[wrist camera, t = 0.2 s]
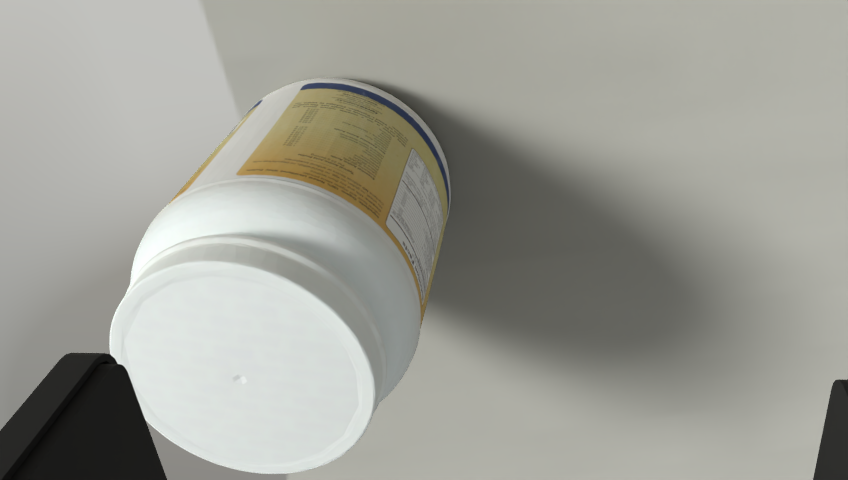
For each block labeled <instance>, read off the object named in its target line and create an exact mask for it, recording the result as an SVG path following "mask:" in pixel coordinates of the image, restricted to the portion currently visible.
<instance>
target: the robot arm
mask: <svg viewBox="0 0 848 480" xmlns="http://www.w3.org/2000/svg"><path fill="white" fill-rule="evenodd" d="M0 480H167V478H166V476H165V473H164V470H163V467H162V465H161V462H160V459H159V457H158V454H157V451H156V448H155V445H154V443H153V440H152V437H151V435H150V432H149V429H148V426H147V424H146V421H145V418H144V415H143V413H142V410H141V407H140V404H139V402H138V399H137V396H136V393H135V391H134V388H133V385H132V383H131V380H130V377H129V374H128V372H127V370H126V368H125V367H124V366H123V365H121V364H118V363H117V362H116V360H115V358H114V357H113V356H111V355H110V354H105V353H70V354H66V355H65V356H64V357H63V358H61V359H60V360H59V362H58V363H57V364H56V365H55V366H54V368H53V369H52V370H51V371H50V372H49V373H48V375H47V376H46V377H45V378H44V379H43V381H42V382H41V383H40V384H39V386H38V387H37V388H36V389H35V390H34V391H33V393H32V394H31V395H30V396H29V397H28V398H27V400H26V401H25V402H24V403H23V404H22V406H21V407H20V408H19V409H18V410H17V412H16V413H15V414H14V415H13V417H12V418H11V419H10V420H9V421H8V422H7V423H6V425H5V426H4V427H3V428H2V429H1V431H0ZM813 480H848V380H835V382H834V383H833V386H832V389H831V394H830V399H829V404H828V409H827V414H826V419H825V424H824V429H823V434H822V439H821V444H820V449H819V454H818V458H817V463H816V468H815V473H814V478H813Z"/></svg>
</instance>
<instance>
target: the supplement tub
mask: <svg viewBox="0 0 848 480" xmlns="http://www.w3.org/2000/svg"><path fill="white" fill-rule="evenodd" d="M450 203H451V189H450V178H449V171H448V166H447V162H446V159H445V156H444V153H443V151H442V149H441V147H440V145H439V143H438V141H437V139H436V137H435V136H434V134H433V133H432V131H431V130H430V129H429V127H428V126H427V125H426V124H425V122H424V121H423V120H422V119H421V118H420V117H419V116H418V115H417V114H416V113H415V112H414V111H413V110H412V109H410V108H409V107H408V106H407V105H405V104H404V103H403V102H401V101H400V100H398V99H397V98H395V97H394V96H392V95H390V94H388V93H386V92H384V91H382V90H380V89H378V88H376V87H373V86H371V85H368V84H365V83H361V82H358V81H353V80H348V79H342V78H315V79H309V80H303V81H299V82H295V83H292V84H289V85H287V86H284V87H282V88H280V89H278V90H276V91H274V92H272V93H270V94H268V95H267V96H265V97H264V98H262V99H261V100H260V101H258V102H257V103H256V104H255V105H254V106H253V107H252V108H251V109H250V110H249V111H248V112H247V113H246V114H245V115H244V117H243V118H242V119H241V121H240V122H239V123H238V124H237V125H236V127H235V128H234V129H233V130H232V131H231V132H230V134H229V135H228V136H227V137H226V138H225V139H224V140H223V141H222V143H221V144H220V145H219V146H218V147H217V149H216V150H215V151H214V152H213V153H212V154H211V156H209V158H208V159H207V160H206V161H205V162H204V163H203V164H202V166H201V167H200V168H199V169H198V170H197V172H195V174H194V175H193V176H192V177H191V178H190V180H189V181H188V182H187V183H186V184H185V185H184V186H183V188H182V189H181V190H180V191H179V192H178V193H177V195H176V196H175V197H174V198H173V199H172V201H171V202H170V203H169V204H168V205H167V206H166V207H165V208H164V209H163V210H162V211H161V212H160V213H159V214H158V215H157V216H156V218H155V219H154V220H153V221H152V223H151V224H150V226H149V228H148V229H147V231H146V233H145V235H144V237H143V239H142V241H141V244H140V245H139V247H138V250H137V252H136V255H135V259H134V263H133V267H132V272H131V283H130V286H129V288H128V290H127V293H126V295H125V297H124V298H123V300H122V301H121V303H120V305H119V306H118V308H117V310H116V313H115V315H114V317H113V321H112V324H111V329H110V355H111V356H113V357H114V358H115V360H116V362H117V363H118V364H121V365H123V366H124V367H125V368H126V370H127V372H128V374H129V377H130V380H131V383H132V385H133V388H134V391H135V393H136V396H137V399H138V402H139V404H140V407H141V410H142V413H143V415H144V418H145V420H146V421H147V422H148V423H149V424H150V425H152V426H153V427H154V428H155V429H156V430H157V431H158V432H160V433H161V434H162V435H163V436H165V437H166V438H167V439H169V440H170V441H172V442H173V443H175V444H176V445H178V446H180V447H181V448H183V449H185V450H187V451H188V452H190V453H192V454H195V455H196V456H199V457H201V458H203V459H205V460H208V461H210V462H213V463H215V464H218V465H221V466H225V467H228V468H232V469H237V470H241V471H247V472H253V473H264V474H284V473H294V472H301V471H306V470H310V469H313V468H316V467H319V466H322V465H325V464H327V463H330V462H332V461H333V460H335V459H338V458H339V457H341V456H342V455H343V454H345V453H346V452H347V451H349V450H350V449H351V448H352V447H353V446H354V445H355V444H356V443H357V442H358V440H359V439H360V438H361V437H362V435H363V434H364V433H365V431H366V429H367V427H368V425H369V423H370V421H371V419H372V416H373V413H374V411H375V410H376V408H377V406H378V404H379V402H381V401H382V400H383V399H384V398H385V397H386V396H387V395H388V394H389V393H390V392H391V391H392V390H393V389H394V388H395V387H396V385H397V384H398V383H399V381H400V380H401V379H402V377H403V375H404V374H405V372H406V370H407V368H408V366H409V364H410V362H411V360H412V358H413V356H414V353H415V351H416V348H417V344H418V340H419V335H420V328H421V324H422V320H423V316H424V312H425V308H426V304H427V300H428V296H429V292H430V288H431V284H432V280H433V276H434V272H435V268H436V264H437V260H438V256H439V252H440V247H441V243H442V239H443V234H444V229H445V225H446V222H447V219H448V215H449V210H450Z"/></svg>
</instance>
